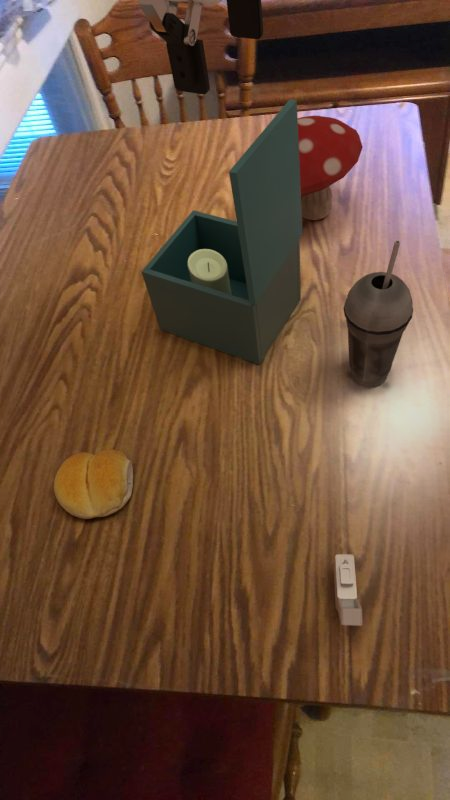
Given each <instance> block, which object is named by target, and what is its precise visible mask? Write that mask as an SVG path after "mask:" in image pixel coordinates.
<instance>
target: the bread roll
mask: <svg viewBox="0 0 450 800" xmlns="http://www.w3.org/2000/svg"><path fill="white" fill-rule="evenodd" d="M133 486H134V466H133V462H132V460H130V459H129V458H128V457H127V456H126V454H124V453H123V452H122V451H120V450H117V449H113V448H105V449H103V450H101V451H99V452H97V453H95V454H92V453H91V452H90V453H89V452H86V451H82V452H76V453H75V454H73V455H71V456H69V457H68V458H67V459H65V460H64V461H63V463H62V464H61V465H60V467H59V468H58V470H57V472H56V474H55V477H54V482H53V493H54V495H55V498H56V500H57V502H58V504H59V505H60V506H61V507H62V509H64V510H65V511H66V513H69V515H71V516H73V517H75V518H79V519H84V520H90V519H94V518H102V517H107V516H110V515H112V514H115V513H117V512H118V511H120V510H121V509H122V508H124V507H125V506H126V505H127V503H128V501H129V500H130V499H131V497H132V492H133Z"/></svg>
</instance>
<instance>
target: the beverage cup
mask: <svg viewBox="0 0 450 800" xmlns="http://www.w3.org/2000/svg"><path fill="white" fill-rule="evenodd" d="M400 245H401V241H400V240H395V241H394V243H393V247H392V251H391V254H390V259H389V261H388V262H389V263H388V265H387V269H386V272H385V271H377V272H376V271H374V272H371V273H368V274H366V275H364V276H362V277H360V278H359V279H357V281H356V282H355V283H354V284H353V286H351V288H350V289H349V291H348V293H347V295H346V298H345V301H344V305H343V314H344V318H345V321H346V326H347V343H348V366H349V375H350V378H351V380H352V381H353V382H354V383H355V384H356V385H357V386H360V387H362V388H366V389H374V388H377V387H380V386H382V385H383V384H384V383H385V382H386V380H387V378H388V376H389V373H390V372H391V369H392V366H393V363H394V360H395V358H396V354H397V352H398V350H399V349H398V348H399V346H400V343H401V340H402V337H403V335H404V332H405V331H406V329H407V327H408V325H409V324H410V322H411V320H412V318H413V314H414V306H413V305H414V302H413V297H412V293H411V291H410V288H409V287H408V285H407V284H406V283H405V281H404V280H402V278H400V277H399V276H397V275H395V274H393V271H394V267H395V263H396V260H397V256H398V252H399V248H400Z"/></svg>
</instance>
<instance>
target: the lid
mask: <svg viewBox="0 0 450 800" xmlns="http://www.w3.org/2000/svg"><path fill="white" fill-rule="evenodd" d="M228 174H229V180H230V188H231V193H232V200H233V206H234V213H235V219H236V220H235V221H237V226H238V233H239V239H240V245H241V252H242V258H243V265H244V271H245V277H246V284H247V290H248V297H249V303H251V304H254V305H256V303H257V302H258V300H259V299H260V297H261V296H262V295H263V293H264V292H265V290H266V289H267V287H268V286H269V284H270V283H271V281H272V280H273V278H274V277H275V275H276V274H277V272H278V271H279V269H280V268H281V266H282V265H283V264H284V262H285V261H286V259H287V258H288V256H289V255H290V253H291V252H292V250H293V249H294V247H295V246H296V244H297V243H298V241H299V240H300V241H301V238H302V237H303V216H302V210H301V188H300V165H299V142H298V102H297V99H292V98H290V99H288V100H287V102H285V104H284V105H283V106H282V107H281V108H280V110H279V111H278V112H277V113H276V115H275V116H274V117H273V119H271V121H270V122H269V123H268V124H267V126H266V127H265V128H264V129H263V130H262V132H261V133H260V134H259V135H258V136H257V137H256V138H255V139H254V141H253V142H252V143H251V144H250V145H249V147H248V148H247V149H246V150H245V152H244V153H243V154H242V155H241V156H240V157H239V158H238V160H237V161H236V162H235V164H234V165H232V167H231V168H230V169H229V171H228Z"/></svg>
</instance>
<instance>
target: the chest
mask: <svg viewBox="0 0 450 800" xmlns="http://www.w3.org/2000/svg"><path fill="white" fill-rule="evenodd" d="M200 249H210V250H214V251H216V252H218V253H219V254H221V255H222V256H223V257H224V259H225V260H226V263H227V267H228V274H229V280H230V287H231V293H232V295H230V294H227V293H224V292H220V291H217V290H214V289H211V288H208V287H204V286H201V285H198V284H195V283H192V282H191V278H190V273H189V269H188V259H189V257H190V255H191V254H192V253H193V252H195V251H197V250H200ZM141 276H142V278H143V281H144V284H145V288H146V291H147V294H148V297H149V300H150V304H151V306H152V309H153V312H154V316H155V319H156V321H157V324H158V328H159V330H160V331H163V332H166V333H169V334H172V335H175V336H176V337H180V338H183V339H185V340H188V341H192V342H193V343H196V344H200V345H203V346H205V347H208V348H210V349H213V350H216V351H219V352H222V353H225V354H227V355H230V356H233V357H236V358H238V359H242V360H243V361H247V362H249V363H252V364H255V365H257V366H260V365H261V363H262V362H263V360H264V359H265V357H266V355H267V354H268V352H269V351H270V349H271V348H272V346H273V344H274V343H275V342H276V340H277V338H278V337H279V335H280V333H281V331H282V330H283V328H284V327H285V325H286V324H287V322H288V321H289V319H290V317H291V316H292V314H293V312H294V311H295V310H296V308H297V306H298V304H299V303H300V301H301V293H302V291H301V287H302V286H301V239H300V240H299V241H298V243H297V244H296V246H295V247H294V249H293V250H292V252H291V253H290V255H289V256H288V258H287V259H286V261H285V262H284V264H283V265H282V266H281V268H280V269H279V271H278V272H277V274H276V275H275V277H274V278H273V280H272V281H271V283H270V284H269V286H268V287H267V289H266V290H265V292H264V293H263V295H262V296H261V297H260V299H259V300H258V302H257V303H256V305H254V304H251V303H249V297H248V290H247V284H246V277H245V271H244V265H243V258H242V252H241V245H240V239H239V233H238V226H237V220H232V219H229V218H224V217H221V216H217V215H213V214H209V213H205V212H202V211H198V210H195V209H192V211H191V212H190V213H189V214H188V215H187V217H186V218H185V219H184V220H183V221H182V223H181V224H180V225H179V226H178V227H177V229H176V230H175V231H174V232H173V233H172V234H171V235H170V237H169V238H168V239H167V241H166V242H165V243H164V244H163V245H162V246H161V247H160V248H159V250H158V251H157V252H156V253H155V254H154V256H153V257H152V258H151V259H150V261H149V262H148V263H147V264H146V265H145V266H144V268H143V269H142V270H141Z"/></svg>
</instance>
